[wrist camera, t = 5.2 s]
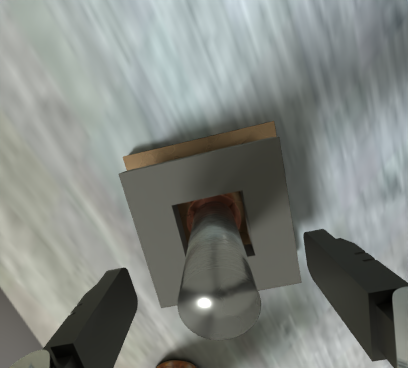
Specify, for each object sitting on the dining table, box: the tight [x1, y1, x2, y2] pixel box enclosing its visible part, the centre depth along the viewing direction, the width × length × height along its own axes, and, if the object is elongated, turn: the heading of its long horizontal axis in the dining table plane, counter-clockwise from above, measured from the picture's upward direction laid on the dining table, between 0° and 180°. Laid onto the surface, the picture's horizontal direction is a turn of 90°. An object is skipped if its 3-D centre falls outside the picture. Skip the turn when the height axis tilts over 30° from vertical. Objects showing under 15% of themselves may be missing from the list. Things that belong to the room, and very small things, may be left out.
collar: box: [119, 137, 301, 308], centre depth 14 cm, size 10×10×2 cm
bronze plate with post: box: [123, 121, 276, 340], centre depth 13 cm, size 12×12×11 cm
